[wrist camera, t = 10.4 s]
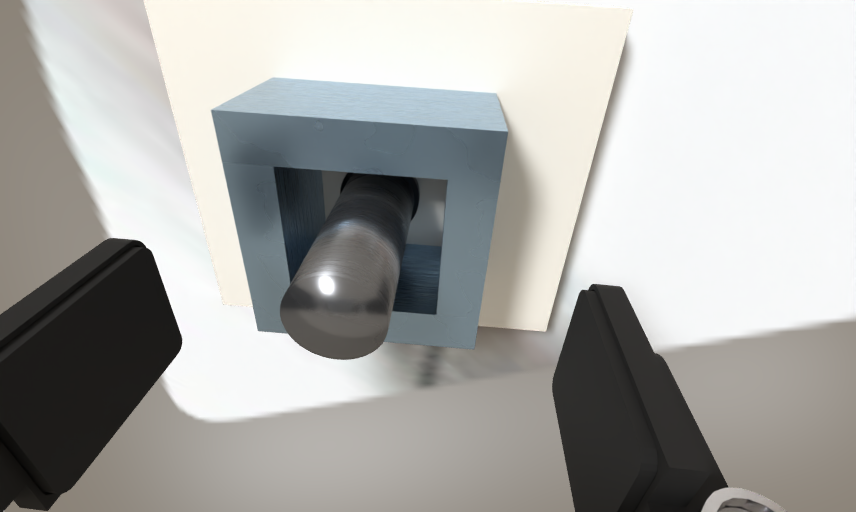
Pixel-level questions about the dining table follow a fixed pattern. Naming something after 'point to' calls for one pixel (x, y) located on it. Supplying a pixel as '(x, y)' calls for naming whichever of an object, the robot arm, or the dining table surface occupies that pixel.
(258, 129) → the collar
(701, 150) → the dining table surface
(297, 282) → the steel post
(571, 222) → the base plate
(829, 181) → the dining table surface
